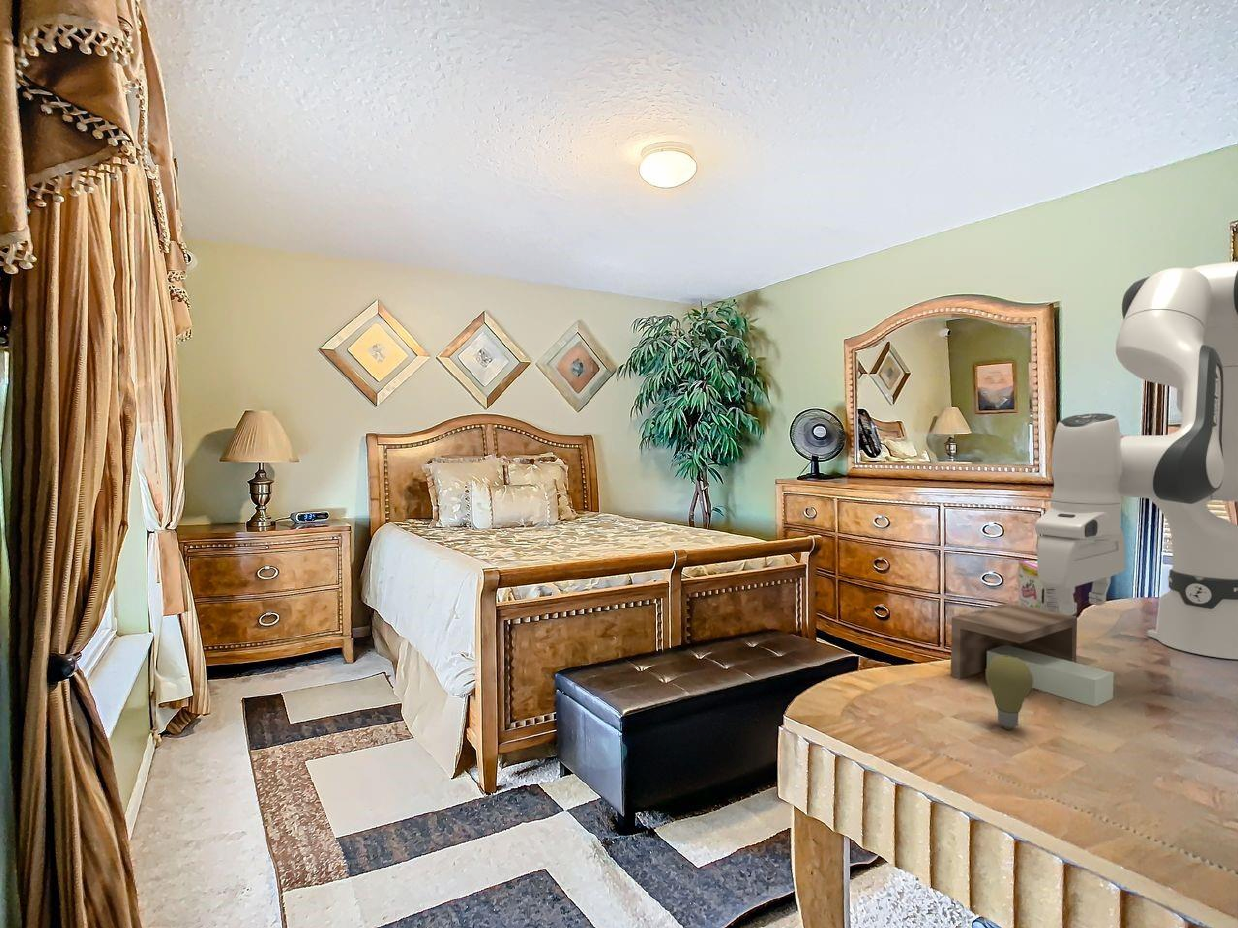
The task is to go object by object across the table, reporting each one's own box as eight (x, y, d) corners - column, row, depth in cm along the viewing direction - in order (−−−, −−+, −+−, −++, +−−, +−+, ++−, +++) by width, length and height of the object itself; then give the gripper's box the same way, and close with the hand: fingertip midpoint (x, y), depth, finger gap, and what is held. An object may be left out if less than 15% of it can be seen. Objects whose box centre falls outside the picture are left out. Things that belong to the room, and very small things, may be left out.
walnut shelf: (1008, 656, 119) (1009, 602, 119) (1075, 675, 110) (1077, 616, 109) (950, 676, 110) (951, 617, 109) (1019, 698, 100) (1020, 633, 100)
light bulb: (1010, 717, 93) (1011, 648, 93) (1041, 735, 88) (1043, 661, 87) (975, 720, 92) (976, 650, 92) (1005, 738, 87) (1006, 664, 86)
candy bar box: (1015, 643, 127) (1017, 559, 126) (1044, 645, 126) (1046, 560, 125) (1040, 663, 116) (1042, 571, 115) (1071, 665, 115) (1074, 572, 114)
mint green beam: (1005, 667, 114) (1005, 644, 114) (1112, 698, 100) (1113, 672, 100) (986, 673, 111) (986, 650, 110) (1094, 706, 97) (1095, 680, 97)
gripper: (1093, 512, 108) (1091, 594, 109) (1028, 523, 98) (1027, 614, 98) (1138, 516, 103) (1136, 603, 104) (1076, 528, 92) (1074, 625, 93)
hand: (1083, 609), depth 101 cm, fingers open, 8 cm apart
